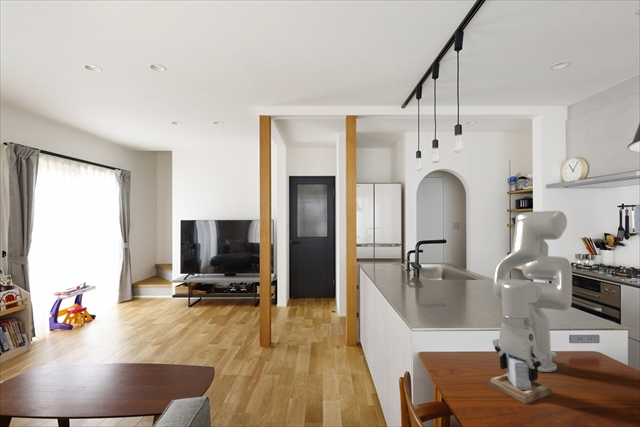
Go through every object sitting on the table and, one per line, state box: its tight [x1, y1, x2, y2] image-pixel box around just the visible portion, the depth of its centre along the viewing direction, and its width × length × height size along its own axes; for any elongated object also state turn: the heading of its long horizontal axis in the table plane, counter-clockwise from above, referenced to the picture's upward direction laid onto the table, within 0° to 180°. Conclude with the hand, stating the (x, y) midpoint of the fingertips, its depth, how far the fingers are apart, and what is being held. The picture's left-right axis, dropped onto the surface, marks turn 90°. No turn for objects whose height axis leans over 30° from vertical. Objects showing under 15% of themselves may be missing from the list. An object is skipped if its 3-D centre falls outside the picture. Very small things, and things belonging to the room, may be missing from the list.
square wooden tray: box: [487, 373, 552, 404], centre depth 107 cm, size 13×12×2 cm
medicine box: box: [506, 354, 531, 390], centre depth 107 cm, size 8×4×9 cm, turn 168°
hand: (518, 374), depth 107 cm, fingers open, 9 cm apart
